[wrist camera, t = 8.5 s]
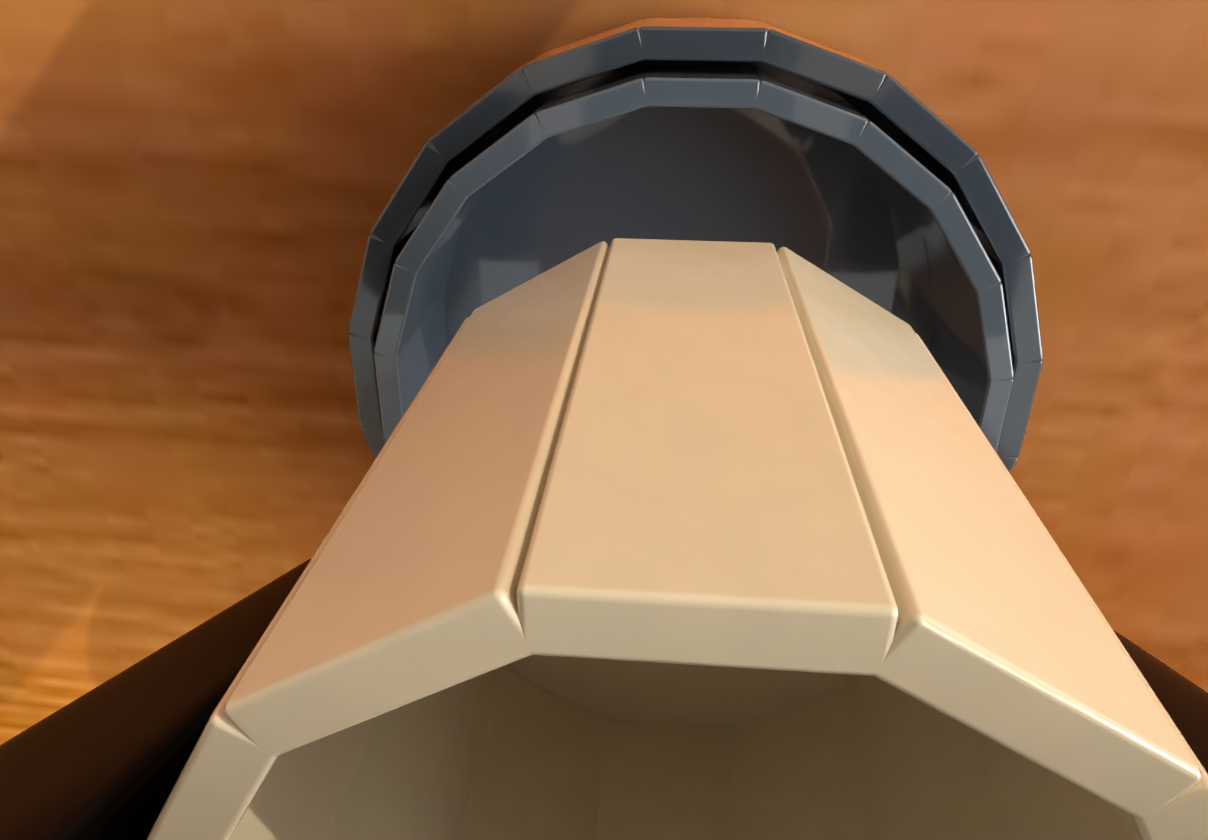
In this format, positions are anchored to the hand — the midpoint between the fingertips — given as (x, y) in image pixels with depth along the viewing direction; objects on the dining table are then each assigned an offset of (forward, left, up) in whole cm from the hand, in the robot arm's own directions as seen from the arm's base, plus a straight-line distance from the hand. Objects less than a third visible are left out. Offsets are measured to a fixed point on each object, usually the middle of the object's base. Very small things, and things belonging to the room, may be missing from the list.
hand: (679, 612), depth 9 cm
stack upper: (0, 0, -8) cm, 8 cm away
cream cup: (0, 0, -2) cm, 2 cm away
